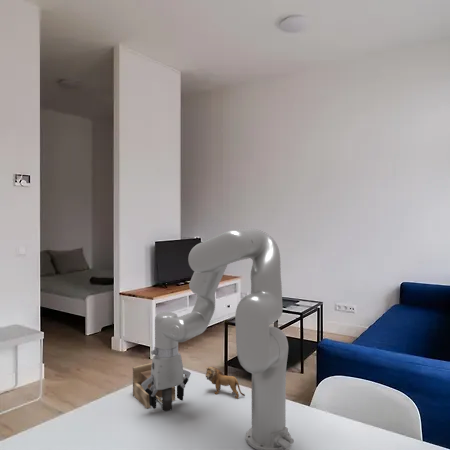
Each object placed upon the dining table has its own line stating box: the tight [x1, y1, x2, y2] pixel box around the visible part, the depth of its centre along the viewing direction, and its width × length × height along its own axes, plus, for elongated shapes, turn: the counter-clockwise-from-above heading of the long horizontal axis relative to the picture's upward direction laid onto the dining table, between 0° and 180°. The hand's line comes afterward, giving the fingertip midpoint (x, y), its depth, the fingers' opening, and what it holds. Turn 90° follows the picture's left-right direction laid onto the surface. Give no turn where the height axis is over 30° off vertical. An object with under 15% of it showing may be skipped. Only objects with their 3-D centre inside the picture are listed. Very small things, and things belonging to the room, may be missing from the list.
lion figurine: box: [205, 366, 246, 400], centre depth 142 cm, size 15×5×9 cm, turn 70°
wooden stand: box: [132, 362, 176, 409], centre depth 139 cm, size 12×10×10 cm
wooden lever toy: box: [140, 370, 173, 412], centre depth 137 cm, size 16×6×8 cm, turn 35°
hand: (166, 403), depth 131 cm, fingers open, 9 cm apart
